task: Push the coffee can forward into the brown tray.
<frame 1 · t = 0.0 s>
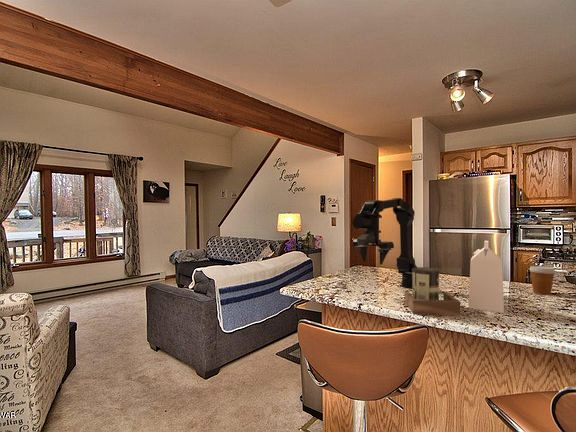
hand: (372, 263, 145), 15 cm above the countertop, tool pointing down, fingers open, 9 cm apart
coffee can: (425, 303, 133), on the countertop
disposable coffee cup: (541, 293, 148), on the countertop
milk: (486, 307, 128), on the countertop
brown tray: (430, 308, 126), on the countertop
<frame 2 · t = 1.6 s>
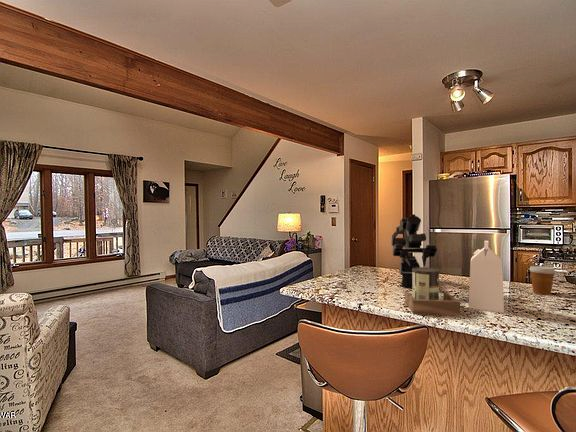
hand: (417, 265, 145), 14 cm above the countertop, tool tilted 45°, fingers open, 6 cm apart
nothing on the countertop moved.
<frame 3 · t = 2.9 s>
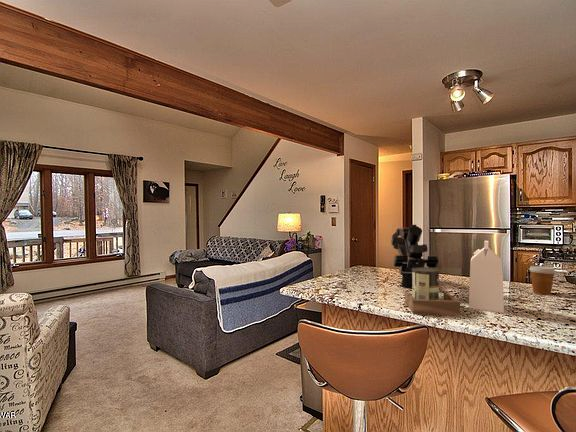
hand: (418, 276, 142), 9 cm above the countertop, tool tilted 45°, fingers closed
nothing on the countertop moved.
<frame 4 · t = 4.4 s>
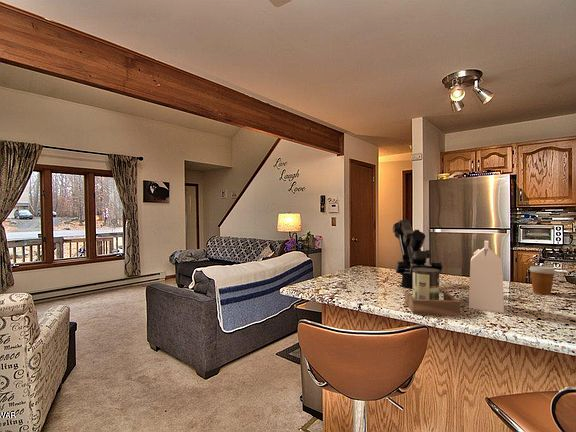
hand: (422, 284, 137), 7 cm above the countertop, tool tilted 45°, fingers closed, pressing on coffee can
coffee can: (425, 304, 132), on the countertop, touching gripper
everything else where it was.
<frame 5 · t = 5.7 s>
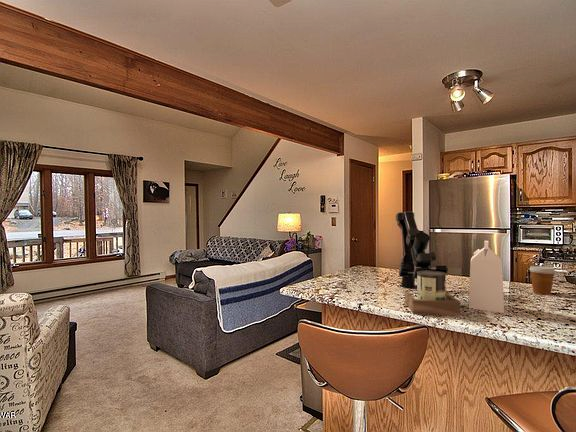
hand: (426, 288, 131), 7 cm above the countertop, tool tilted 45°, fingers closed, pressing on coffee can
coffee can: (430, 309, 125), on the countertop, touching gripper
everything else where it was.
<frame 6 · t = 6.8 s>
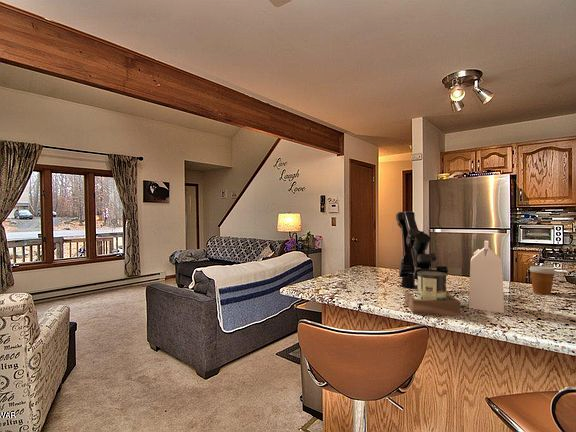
hand: (426, 288, 130), 6 cm above the countertop, tool tilted 45°, fingers closed
coffee can: (431, 309, 125), on the countertop
everything else where it was.
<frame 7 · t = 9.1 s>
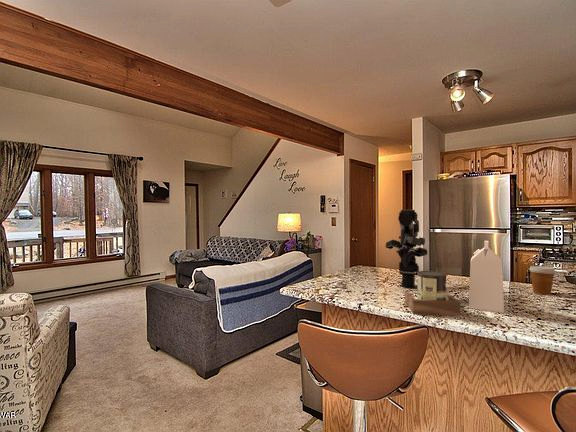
hand: (405, 266, 146), 13 cm above the countertop, tool tilted 25°, fingers closed
nothing on the countertop moved.
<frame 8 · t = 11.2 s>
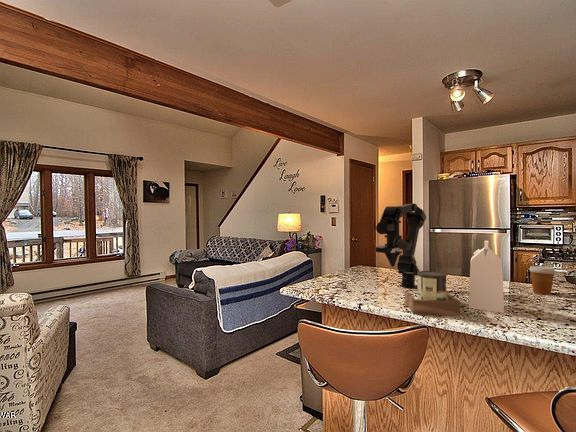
hand: (392, 266, 150), 12 cm above the countertop, tool pointing down, fingers closed
nothing on the countertop moved.
at the end: coffee can 0.7 cm off-centre on the brown tray, point 0.0 cm above the brown tray's base; coffee can tilted 0°; coffee can moved 7.8 cm from its start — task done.
